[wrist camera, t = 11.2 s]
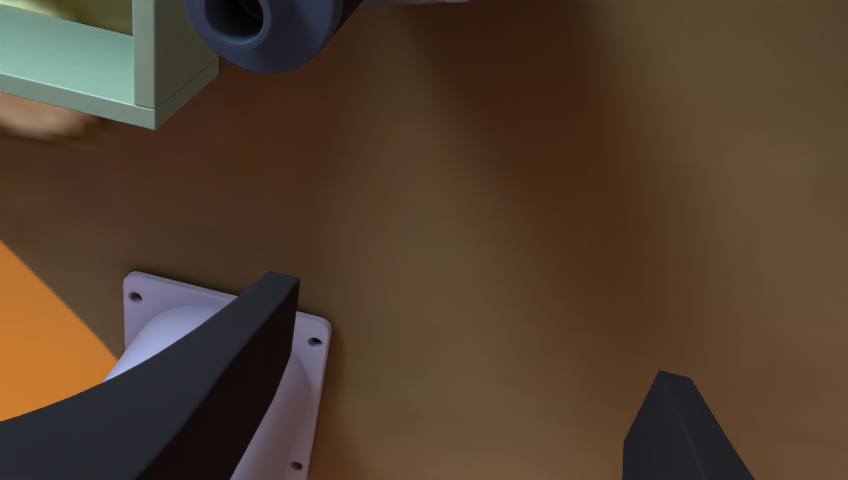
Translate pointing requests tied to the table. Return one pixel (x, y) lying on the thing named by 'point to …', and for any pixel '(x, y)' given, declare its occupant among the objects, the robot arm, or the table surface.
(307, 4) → the vaping device
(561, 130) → the table surface
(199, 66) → the storage box
